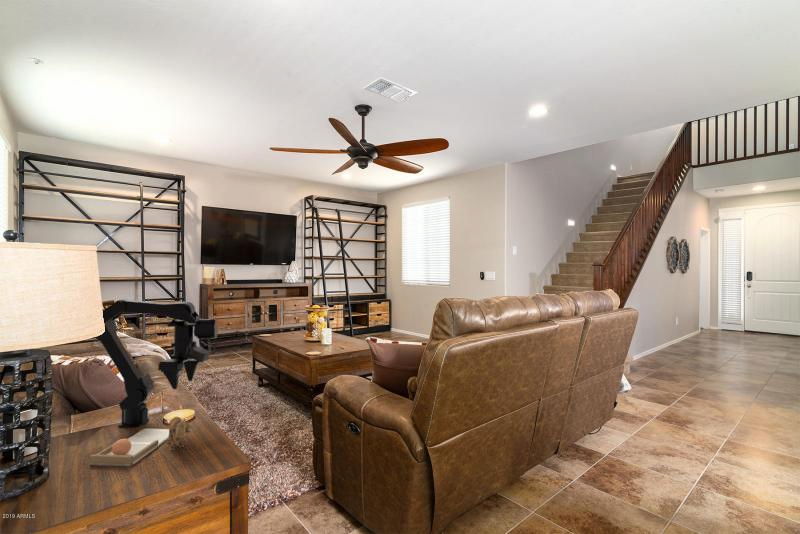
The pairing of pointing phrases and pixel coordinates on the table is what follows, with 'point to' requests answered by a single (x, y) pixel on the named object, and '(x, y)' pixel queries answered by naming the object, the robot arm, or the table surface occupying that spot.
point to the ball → (121, 447)
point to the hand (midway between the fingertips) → (182, 384)
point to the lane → (132, 448)
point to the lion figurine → (178, 431)
